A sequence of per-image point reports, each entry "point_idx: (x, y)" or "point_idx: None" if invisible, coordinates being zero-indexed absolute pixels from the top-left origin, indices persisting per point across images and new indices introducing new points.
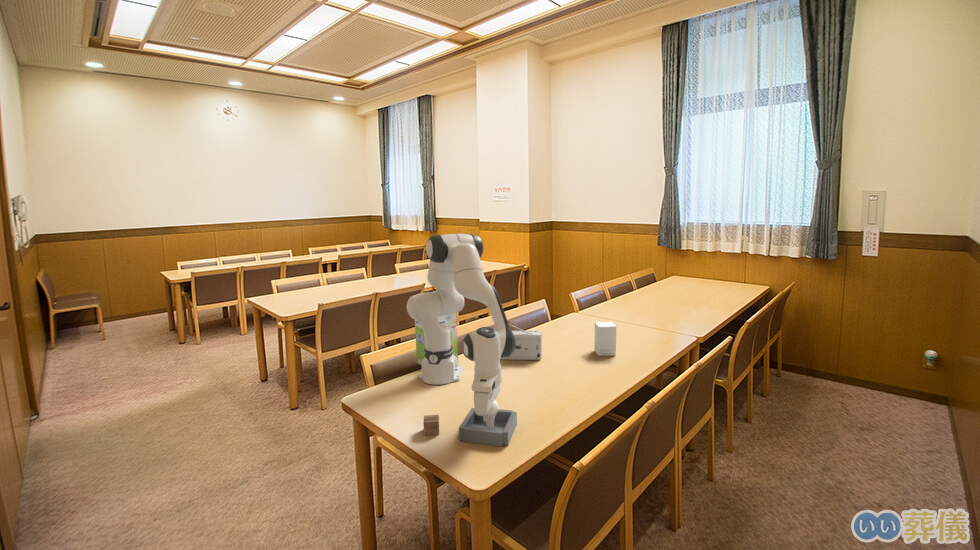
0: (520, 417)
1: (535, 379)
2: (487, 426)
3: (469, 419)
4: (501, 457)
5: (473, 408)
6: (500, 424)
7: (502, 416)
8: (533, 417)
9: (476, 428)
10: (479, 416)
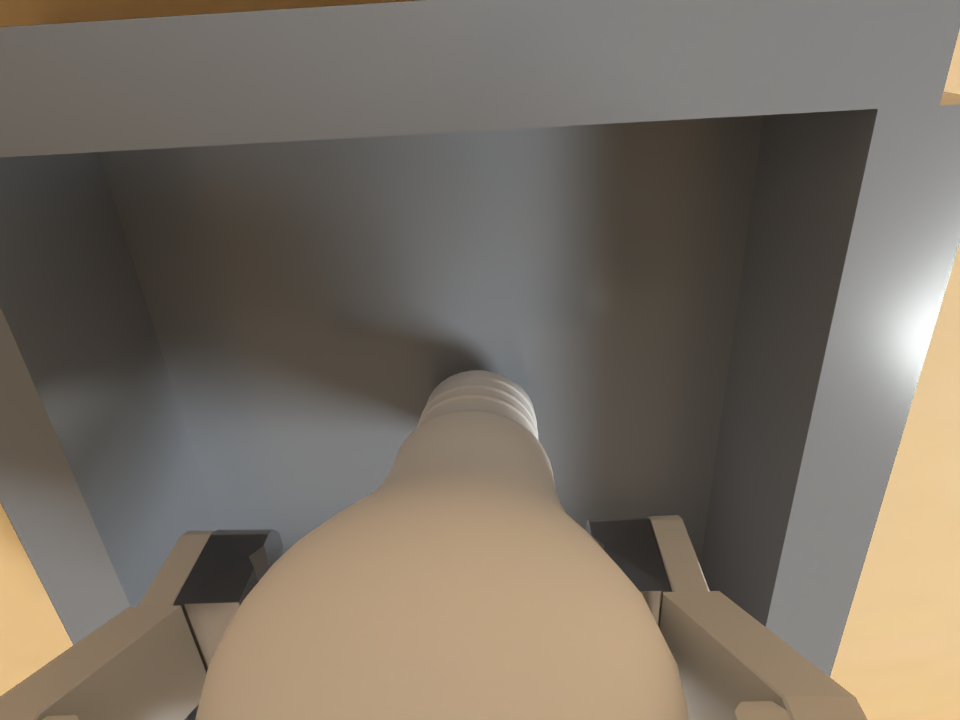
0: (891, 608)
1: None
2: (421, 417)
3: (338, 135)
4: (7, 611)
5: (923, 38)
6: (645, 482)
7: (740, 552)
8: (887, 704)
9: (26, 410)
10: (782, 174)
